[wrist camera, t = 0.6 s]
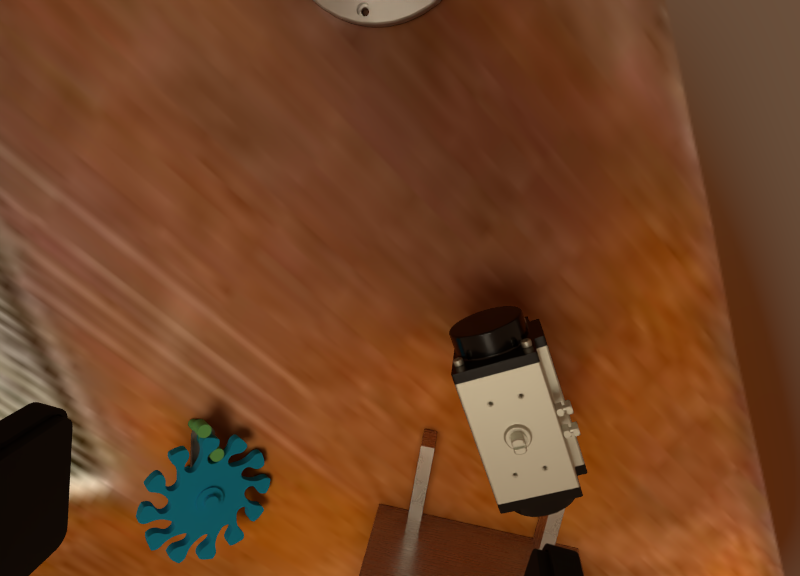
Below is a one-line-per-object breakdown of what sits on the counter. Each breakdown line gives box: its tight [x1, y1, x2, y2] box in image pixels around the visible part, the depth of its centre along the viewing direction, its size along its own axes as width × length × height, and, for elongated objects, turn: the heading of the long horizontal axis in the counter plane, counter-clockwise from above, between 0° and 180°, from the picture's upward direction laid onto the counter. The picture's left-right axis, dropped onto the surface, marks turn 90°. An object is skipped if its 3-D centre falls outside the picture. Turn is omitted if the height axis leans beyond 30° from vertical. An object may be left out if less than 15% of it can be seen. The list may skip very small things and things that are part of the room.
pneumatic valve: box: [449, 306, 587, 517], centre depth 35 cm, size 6×12×12 cm, turn 20°
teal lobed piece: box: [136, 419, 271, 563], centre depth 44 cm, size 11×6×10 cm
